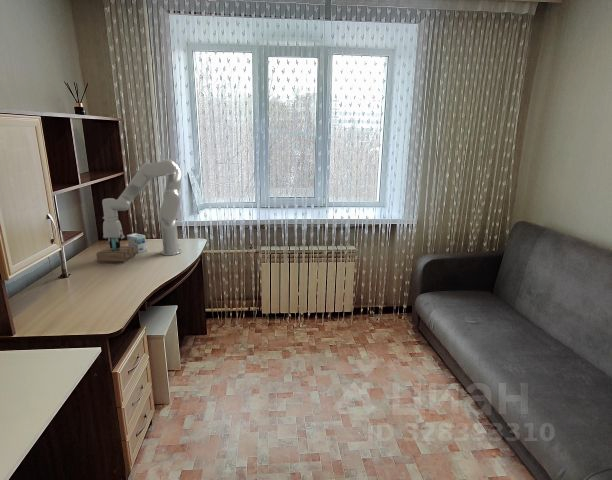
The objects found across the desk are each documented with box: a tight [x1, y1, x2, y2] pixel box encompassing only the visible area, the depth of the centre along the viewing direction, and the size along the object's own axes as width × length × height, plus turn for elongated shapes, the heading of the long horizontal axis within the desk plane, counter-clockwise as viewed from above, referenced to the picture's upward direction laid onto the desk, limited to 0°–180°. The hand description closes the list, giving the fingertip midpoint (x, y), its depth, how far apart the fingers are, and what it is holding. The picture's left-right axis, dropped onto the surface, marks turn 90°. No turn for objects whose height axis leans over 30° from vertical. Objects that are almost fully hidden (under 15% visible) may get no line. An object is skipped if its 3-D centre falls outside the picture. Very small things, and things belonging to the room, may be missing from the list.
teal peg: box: [111, 238, 118, 251], centre depth 245 cm, size 3×3×10 cm
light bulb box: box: [126, 232, 148, 254], centre depth 263 cm, size 11×7×11 cm, turn 58°
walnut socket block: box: [95, 245, 137, 264], centre depth 247 cm, size 16×16×6 cm
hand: (115, 247), depth 246 cm, fingers closed on teal peg, 3 cm apart
